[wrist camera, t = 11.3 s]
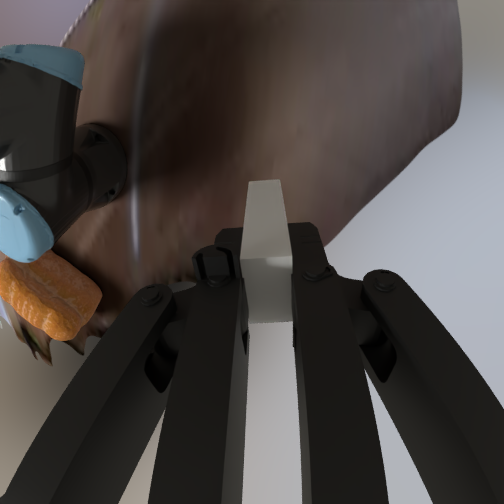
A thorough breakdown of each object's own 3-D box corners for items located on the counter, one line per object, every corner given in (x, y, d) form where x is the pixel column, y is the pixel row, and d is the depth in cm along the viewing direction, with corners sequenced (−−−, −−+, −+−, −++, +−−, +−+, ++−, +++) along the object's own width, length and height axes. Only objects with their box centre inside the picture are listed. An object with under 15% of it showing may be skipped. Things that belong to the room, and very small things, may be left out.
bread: (24, 220, 49) (-16, 259, 36) (109, 286, 58) (81, 337, 45) (17, 256, 54) (-15, 294, 42) (92, 314, 63) (69, 360, 51)
